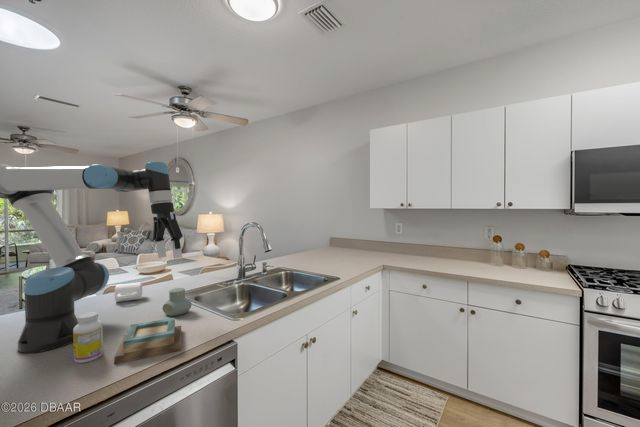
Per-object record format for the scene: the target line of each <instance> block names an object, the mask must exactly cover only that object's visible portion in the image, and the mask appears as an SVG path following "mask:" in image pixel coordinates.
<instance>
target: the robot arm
mask: <svg viewBox="0 0 640 427" xmlns="http://www.w3.org/2000/svg"><path fill="white" fill-rule="evenodd" d="M105 189H107V190H113V191H115V192H116V193H130V192H134V191H141V190H148V198H149V203H150V208H151V214H152V215H156V216H153V218H152V219H153V230H152V231H153V232H152V235H153V236H152V239H153V241H155V243H156V250H157V257H158V259H162V258H167V250H166V243H165V238H164V235H165V232H166V231H165V230H167V232H168V235H169V236H170V238H171V239H170V242H171V248H172V254H173V259H175V260H176V259H179V258H183V252H182V251H183V250H182V246H181V238H183V236H184V235H183V233H182V231H181V228H180V226H179V225H180V224H178V223H179V222H178V221H177V218H176V214H175V213H173V212H174V211H175V207H174V203H173V193H172V188H171V180H170V172H169V169H168V164H167V163H165V162H163V161H149V162H145V164H144V168H143V169H135V170H130V169H129V170H127V169H124V168H118V167H115V166H111V165H107V164H99V163H98V164H96V163H95V164H91V165H86V166H84V165H83V166H80V165H79V166H47V167H46V166H42V167H41V166H40V167H39V166H38V167H37V166H36V167H33V166H31V167H27V166H26V167H17V166H13V165H9V164H0V199H3V200H4V199H5V200H8V202H9V203H10V205H11V207H12V208H13V209H16V210H19V211H21V212H22V214H23V215H24V216H25V219H27V221H28V222H29V224H30V226H31V228H32V229H33V231H34V233H35V234H36V236H37V237H38V238H39V240H40V242H41V244H42V245H43V246H44V249H45V250H46V251H47V253H48V255H49V256H50V258H51V260H52V261H53V263H54V264H55V267H52V268H48V269H43V270H40V271H36V272H33V273H32V274H30V275H28V276H27V277H26V278H25V281H24V289H23V292H24V316H25V319H24V320H25V323H24V326H23V329H22V331H21V334H20V335H19V338H18V341H17V351H18V352H20V353H24V354H25V353H26V354H27V353H29V354H30V353H31V354H32V353H33V354H34V353H39V352H40V353H41V352H45V351H50V350H53V349H57V348H60V347H63V346H66V345H69V344H70V343H71V344H72V343H73V329H74V327H75V326H76V325H77V324H78V323H79V322H78V321H77V316H76V313H75V302H77V301H79V300H82V299H85V298H86V297H89V296H93V295H95V294H97V293H99V292H100V291H102V290H103V289H104V288H105V287H106V286H107V285H108V282H109V280H110V273H109V270H108V267H107V266H106V265H104V264H103V263H100V262H98V261H97V262H95V260H94V259H93V257H92V256H91V255H88V254H85V253H84V252H83V250H82V248H81V247H80V246H79V244H78V242H77V241H76V239H75V237H74V236H73V234H72V233H71V230H70V229H69V227H68V226H67V225H66V223H65V220H64V219H63V218H62V216H61V215H60V212H59V211H58V210H57V208H56V206H55V205H54V203H53V202H52V201H53V199H54V198H55V195H54V193H55V191H57V190H58V191H64V190H65V191H67V190H105Z"/></svg>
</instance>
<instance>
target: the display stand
mask: <svg viewBox="0 0 640 427" xmlns="http://www.w3.org/2000/svg"><path fill="white" fill-rule="evenodd" d="M117 347H118V348H117V350H116V352H115V354H114V356H113V358H114V359H113V360H114V361H113V364H114V365H116V364H120V363H121V364H122V363H125V362H131V361H135V360H140V359H144V358H150V357H155V356H160V355H164V354H169V353H175V352H179V351H182V325H176V319H175V317H172V318H165V319H160V320H158V319H157V320H152V321H147V322H140V323H134V324H130V325H129V328H128V330H127V333H126V334H124V335H123V337H122V339H121V341H120V344H119V345H118V346H117Z"/></svg>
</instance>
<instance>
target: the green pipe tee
mask: <svg viewBox="0 0 640 427" xmlns="http://www.w3.org/2000/svg"><path fill="white" fill-rule="evenodd" d="M192 306H193V305H192V301H191V300H190V299H189V298H187V297H186V289H185V288H183V287H176V288H173V289H170V290H169V291H168V300H167V301H165V303H164V304H163V305H162V311H163V313H164V314H166V315H167V316H169V317H170V316H171V317H176V316H181V315H184V314H185V313H187V312H189V311H190V310H191V308H192Z"/></svg>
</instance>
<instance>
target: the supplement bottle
mask: <svg viewBox="0 0 640 427" xmlns="http://www.w3.org/2000/svg"><path fill="white" fill-rule="evenodd" d="M76 318H77V321H78V322H79V323H78V324H77V325H76V326H75V327H74V329H73V342H72V343H73V361H74V362H75V363H77V364H82V363H84V364H85V363H88V362H92V361H95V360H96V359H98V358H100V357H101V356H102V355H103V353H104V338H103V336H104V335H103V334H104V333H103V322H102V321H101V320H100V319H99V313H98V312H97V311H89V312H84V313H81V314H79V315H77V316H76Z"/></svg>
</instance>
